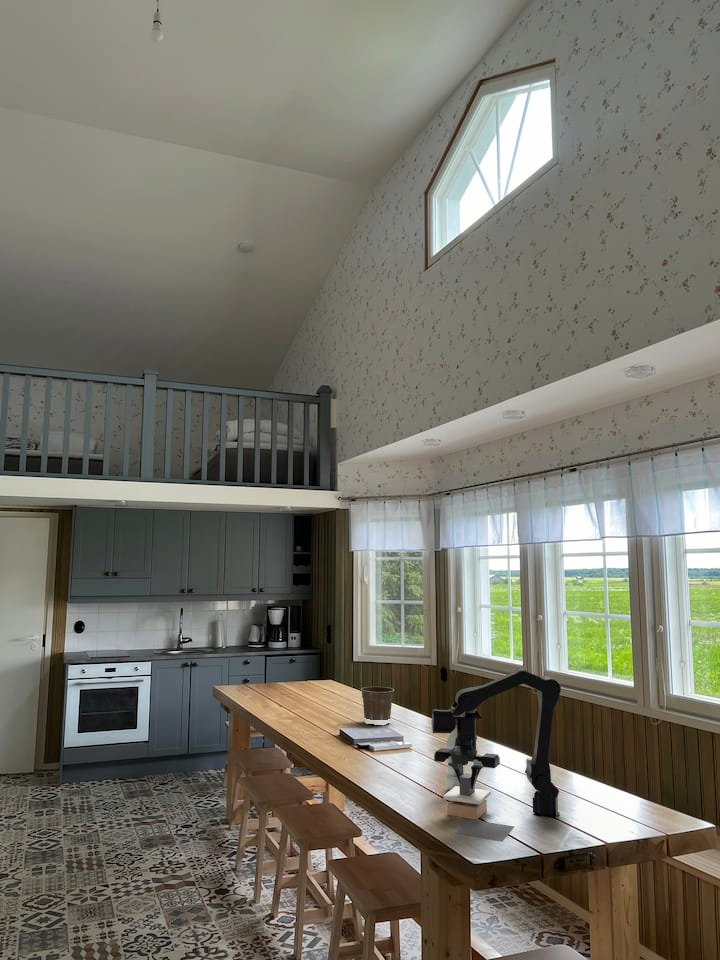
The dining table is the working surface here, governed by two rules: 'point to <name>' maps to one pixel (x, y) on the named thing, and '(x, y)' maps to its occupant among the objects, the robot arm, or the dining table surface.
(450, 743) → the plastic bottle
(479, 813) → the orange open box
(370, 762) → the dining table surface
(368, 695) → the plant pot
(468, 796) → the lid
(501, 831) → the mat
